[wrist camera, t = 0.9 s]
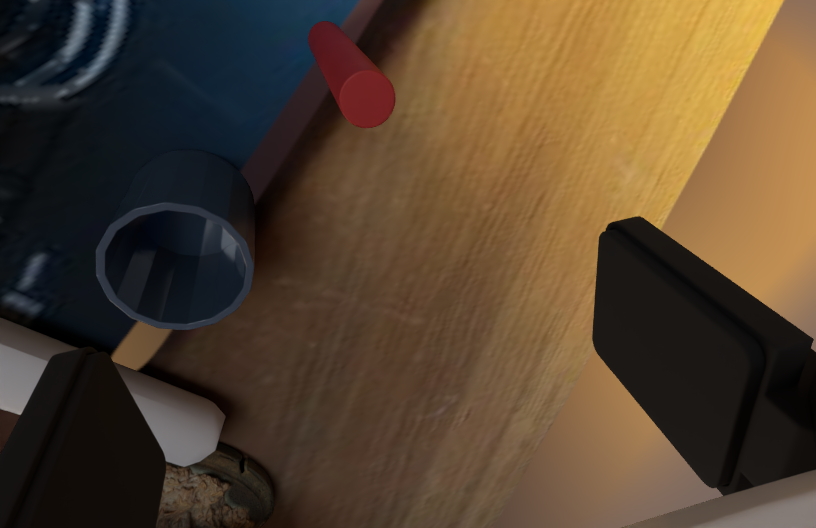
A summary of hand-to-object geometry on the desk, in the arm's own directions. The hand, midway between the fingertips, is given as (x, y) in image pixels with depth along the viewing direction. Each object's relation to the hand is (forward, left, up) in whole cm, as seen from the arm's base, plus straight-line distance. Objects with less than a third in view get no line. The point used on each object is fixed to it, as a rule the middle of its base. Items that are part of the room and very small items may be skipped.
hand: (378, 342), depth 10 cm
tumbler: (+6, -8, -25) cm, 27 cm away
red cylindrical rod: (-2, +2, -25) cm, 25 cm away
